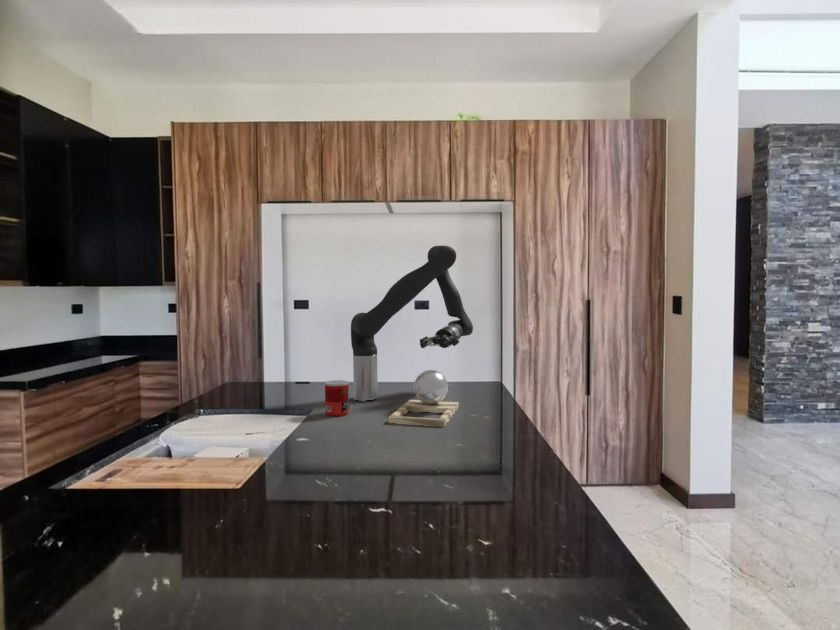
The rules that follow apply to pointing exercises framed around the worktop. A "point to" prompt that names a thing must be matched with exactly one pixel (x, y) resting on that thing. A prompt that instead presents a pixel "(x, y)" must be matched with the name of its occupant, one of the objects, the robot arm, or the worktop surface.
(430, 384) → the ball
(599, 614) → the worktop surface
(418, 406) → the hole board
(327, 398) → the canned food
